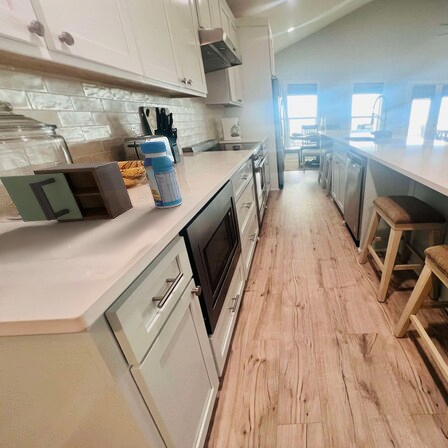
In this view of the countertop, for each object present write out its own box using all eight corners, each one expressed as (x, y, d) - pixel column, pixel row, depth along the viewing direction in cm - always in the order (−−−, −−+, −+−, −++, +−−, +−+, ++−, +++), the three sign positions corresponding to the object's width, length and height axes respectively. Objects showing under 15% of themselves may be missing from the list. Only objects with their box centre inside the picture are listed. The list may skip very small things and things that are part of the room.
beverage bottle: (177, 208, 77) (159, 142, 69) (150, 210, 77) (129, 144, 68) (186, 200, 85) (172, 140, 76) (162, 201, 84) (145, 141, 76)
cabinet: (57, 221, 70) (32, 170, 64) (83, 210, 80) (63, 164, 73) (113, 218, 71) (93, 167, 65) (133, 207, 80) (117, 161, 74)
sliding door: (1, 230, 63) (-28, 182, 58) (26, 221, 69) (1, 176, 64) (64, 226, 64) (40, 178, 59) (83, 217, 70) (63, 173, 65)
